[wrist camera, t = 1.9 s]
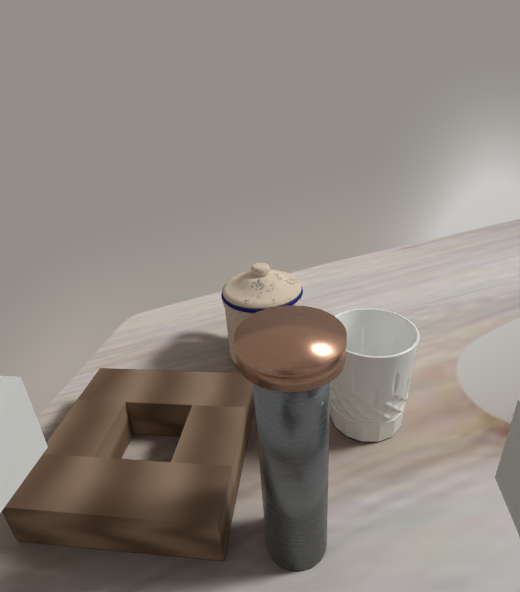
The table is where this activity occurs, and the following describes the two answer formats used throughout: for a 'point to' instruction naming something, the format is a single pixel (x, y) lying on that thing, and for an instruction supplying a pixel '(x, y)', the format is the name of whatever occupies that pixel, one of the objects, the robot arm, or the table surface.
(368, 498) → the table surface
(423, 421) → the table surface
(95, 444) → the socket block
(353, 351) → the white cup
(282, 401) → the metal pin
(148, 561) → the table surface
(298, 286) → the teacup with lid
